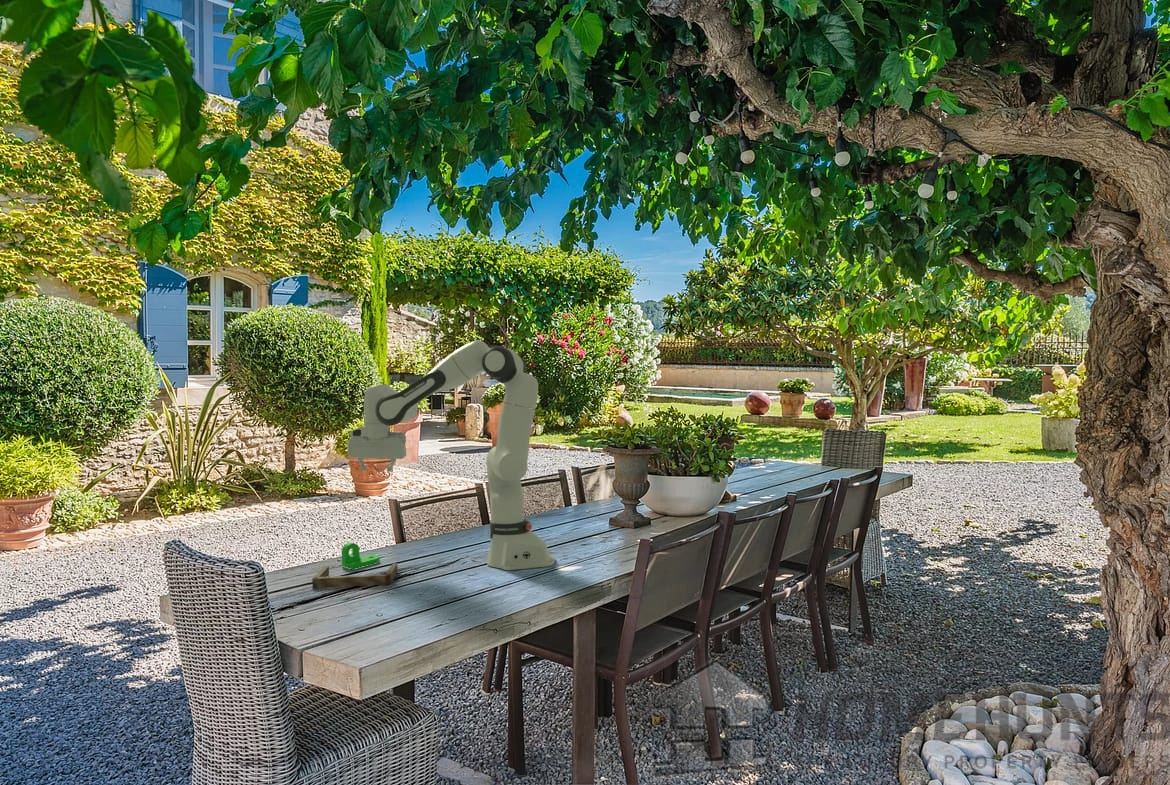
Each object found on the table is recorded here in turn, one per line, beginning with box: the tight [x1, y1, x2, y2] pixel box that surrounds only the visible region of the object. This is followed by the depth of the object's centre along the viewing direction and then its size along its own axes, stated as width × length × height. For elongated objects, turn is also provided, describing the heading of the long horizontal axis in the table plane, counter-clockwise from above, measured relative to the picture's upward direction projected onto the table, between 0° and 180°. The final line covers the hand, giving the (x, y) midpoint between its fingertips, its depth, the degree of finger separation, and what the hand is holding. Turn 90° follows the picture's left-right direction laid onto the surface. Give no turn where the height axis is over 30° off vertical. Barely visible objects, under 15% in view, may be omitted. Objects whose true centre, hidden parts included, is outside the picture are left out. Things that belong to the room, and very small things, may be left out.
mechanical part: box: [341, 542, 381, 569], centre depth 253 cm, size 12×6×8 cm, turn 143°
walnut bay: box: [311, 562, 399, 589], centre depth 235 cm, size 23×14×3 cm, turn 95°
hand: (376, 471), depth 262 cm, fingers open, 8 cm apart
